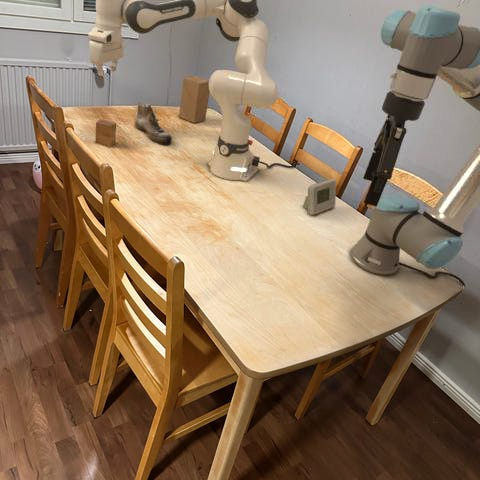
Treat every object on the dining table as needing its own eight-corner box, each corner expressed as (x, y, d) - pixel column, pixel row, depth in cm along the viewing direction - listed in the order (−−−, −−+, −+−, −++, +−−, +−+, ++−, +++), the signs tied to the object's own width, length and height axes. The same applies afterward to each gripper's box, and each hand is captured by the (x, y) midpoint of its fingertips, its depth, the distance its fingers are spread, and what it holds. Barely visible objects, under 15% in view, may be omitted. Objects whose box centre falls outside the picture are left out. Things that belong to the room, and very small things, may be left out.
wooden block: (194, 123, 220) (199, 83, 210) (178, 117, 224) (183, 77, 213) (205, 120, 228) (211, 81, 218) (190, 114, 232) (195, 75, 221)
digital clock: (309, 217, 160) (317, 191, 154) (294, 205, 166) (301, 179, 160) (340, 211, 169) (349, 186, 163) (324, 200, 175) (332, 175, 169)
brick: (101, 139, 183) (101, 119, 178) (115, 143, 182) (116, 123, 178) (95, 142, 179) (95, 122, 174) (109, 146, 178) (110, 126, 174)
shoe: (175, 145, 192) (178, 118, 185) (151, 146, 186) (153, 118, 180) (154, 124, 209) (157, 98, 202) (132, 124, 203) (133, 97, 197)
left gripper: (113, 29, 167) (112, 66, 174) (85, 34, 150) (85, 75, 157) (129, 32, 167) (127, 70, 174) (102, 38, 149) (101, 79, 157)
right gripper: (385, 79, 97) (353, 167, 108) (392, 105, 76) (352, 210, 87) (418, 87, 96) (383, 175, 108) (435, 116, 75) (389, 221, 87)
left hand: (107, 73), depth 165 cm, fingers open, 8 cm apart
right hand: (369, 191), depth 98 cm, fingers open, 13 cm apart
